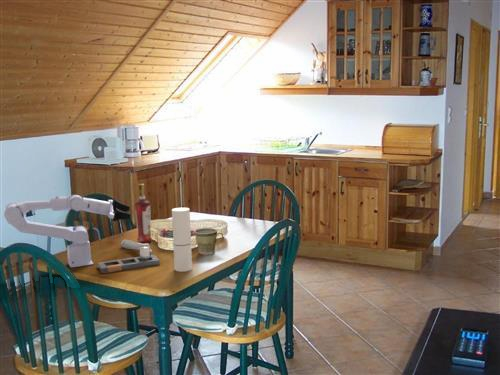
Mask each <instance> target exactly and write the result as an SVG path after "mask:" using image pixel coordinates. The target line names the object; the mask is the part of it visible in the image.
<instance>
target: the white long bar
mask: <svg viewBox="0 0 500 375" xmlns="http://www.w3.org/2000/svg"><path fill="white" fill-rule="evenodd" d="M143 246H148V247H149V253H150V255H153V254H152V253H153V249H151V247H150V244H149V242H148V243H140V242H139V241H138V242H137V241H135V240H130V239H129V238H127V239H122V240H121V241H120V247H121V248H124V249H125V250H135V251H138V252H139V253H140V247H143Z"/></svg>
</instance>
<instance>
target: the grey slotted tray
mask: <svg viewBox="0 0 500 375" xmlns="http://www.w3.org/2000/svg"><path fill="white" fill-rule="evenodd" d="M160 264H161V263H160V259H159V258H158V257H157V256H156V255H155V254H152V255H150V260H148V261H141V262H140V256H135V257H134V256H133V257H129V258H122V259H116V260H115V259H114V260H108V261H101V262H97V268H98V270H99V271H100V272H101V274H107V273H113V272H120V271H121V272H122V271H126V270H132V269H138V268H146V267H153V266H154V267H155V266H160Z"/></svg>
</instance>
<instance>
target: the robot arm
mask: <svg viewBox="0 0 500 375" xmlns="http://www.w3.org/2000/svg"><path fill="white" fill-rule="evenodd" d="M46 209H51V210H52V211H53V212H59V211H60V212H61V211H69V210H74V211H75V212H80V211H83V212H88V213H93V214H98V215H104V216H106V217H108V219H111V220H112V222H117V221H120V220H121V221H122V220H130V219H131V217H132V214H131V213H130V212H129V211H130V209H131V207H130V206H129V205H127V204H125V203H123V202H121V201H119V200H118V199H117V198H114V199H108V201H106V200H99V199H96V198H91V197H82V196H81V195H78V194H72V195H71V194H69V195H67V196H60V195H55V196H54V197H51V199H50V200H26V201H25V200H24V201H17V202H10V203H9V204H7V205H6V207H5V210H4V218H5V220H6V221H7V223H8V224H9V225H11V226H12V227H14V228H15V229H16V230H17V231H18V232H20V233H23V234H31V235H36V236H44V237H51V238H55V239H57V238H58V239H63V240H64V239H65V240H66V241H69V242H71V244H68V245H67V246H66V253H67V263H68V265H69V267H70V268H77V267H84V266H85V267H87V266H92V265H94V261H92V255H91V254H92V253H91V245H90V244H91V243H90V241H89V234H88V230H87V228H86V227H85V226H83V225H76V226H64V225H63V226H62V225H54V224H50V223H49V224H47V223H43V222H36V221H30V220H28V219H27V217H26V216H25V215H26V214H27V213H29V212H31V211H37V210H46Z"/></svg>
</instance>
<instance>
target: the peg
mask: <svg viewBox="0 0 500 375" xmlns="http://www.w3.org/2000/svg"><path fill="white" fill-rule="evenodd" d="M139 251H140V252H139V257H140V262H141V261H148V260H150V253H149V247H148V246H143V247H140V250H139Z"/></svg>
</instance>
